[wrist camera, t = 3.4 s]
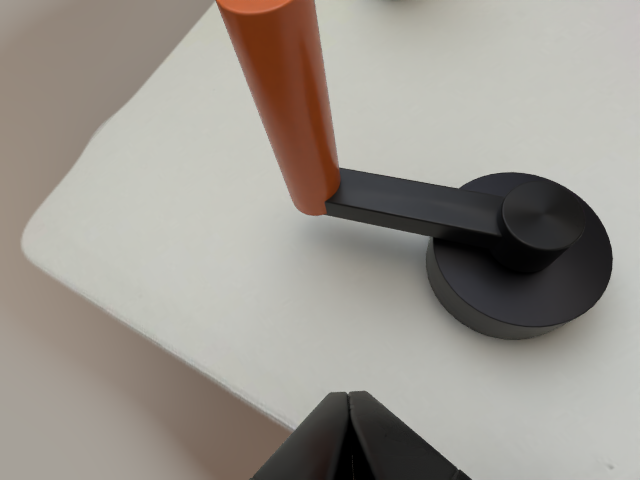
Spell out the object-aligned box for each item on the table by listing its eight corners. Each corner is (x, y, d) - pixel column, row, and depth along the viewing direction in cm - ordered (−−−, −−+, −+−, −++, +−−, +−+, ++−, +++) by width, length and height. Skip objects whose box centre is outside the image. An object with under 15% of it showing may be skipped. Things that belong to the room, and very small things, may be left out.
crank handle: (560, 217, 19) (792, -36, 8) (555, 280, 18) (819, 77, 7) (304, 170, 22) (237, -61, 11) (286, 222, 21) (192, 17, 10)
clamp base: (617, 298, 20) (654, 280, 18) (477, 366, 20) (493, 358, 17) (521, 179, 24) (540, 149, 21) (400, 235, 23) (403, 211, 21)
